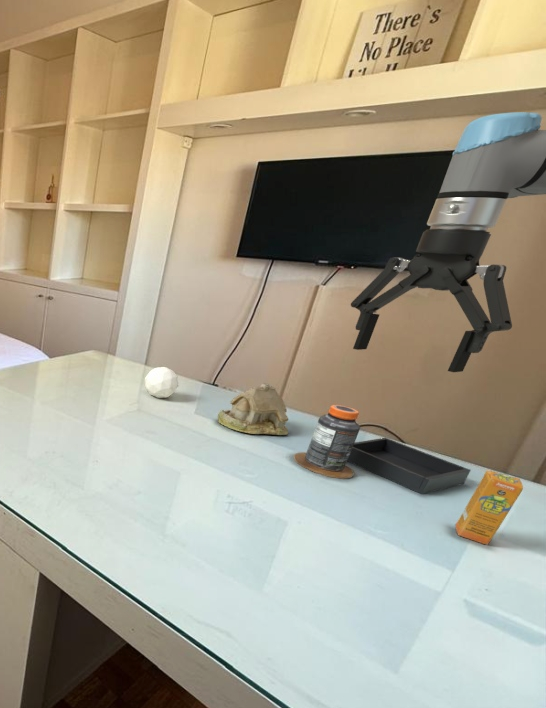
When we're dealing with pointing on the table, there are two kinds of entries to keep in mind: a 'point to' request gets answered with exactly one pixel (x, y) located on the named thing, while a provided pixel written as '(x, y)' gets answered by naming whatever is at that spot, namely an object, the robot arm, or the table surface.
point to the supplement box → (488, 507)
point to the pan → (407, 465)
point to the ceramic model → (256, 412)
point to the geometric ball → (161, 382)
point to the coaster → (342, 474)
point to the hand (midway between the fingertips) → (403, 359)
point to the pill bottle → (333, 438)
